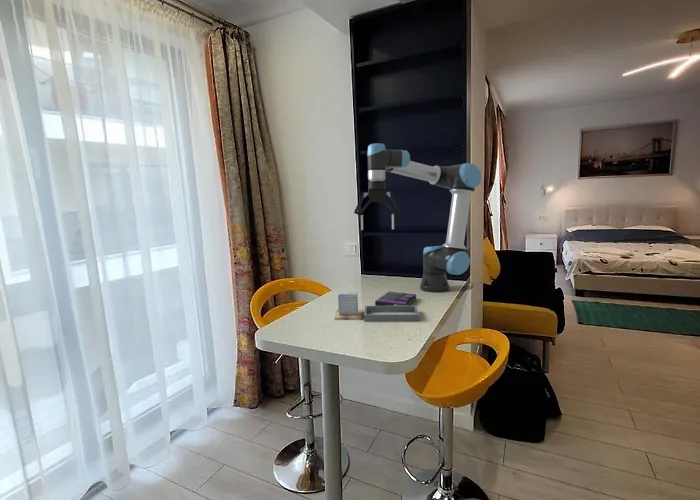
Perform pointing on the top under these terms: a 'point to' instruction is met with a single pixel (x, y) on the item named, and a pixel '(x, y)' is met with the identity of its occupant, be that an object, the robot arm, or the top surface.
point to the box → (396, 299)
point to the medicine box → (348, 303)
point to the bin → (391, 316)
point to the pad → (348, 316)
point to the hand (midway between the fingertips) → (377, 229)
